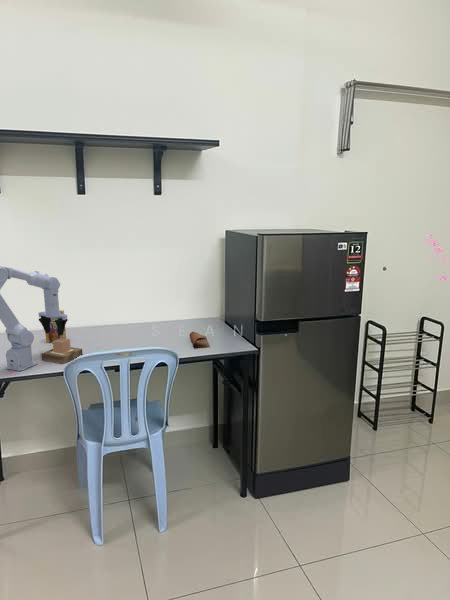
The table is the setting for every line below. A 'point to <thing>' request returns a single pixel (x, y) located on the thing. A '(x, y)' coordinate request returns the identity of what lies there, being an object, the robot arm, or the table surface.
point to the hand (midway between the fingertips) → (54, 333)
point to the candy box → (54, 331)
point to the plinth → (61, 355)
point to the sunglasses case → (198, 340)
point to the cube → (61, 345)
